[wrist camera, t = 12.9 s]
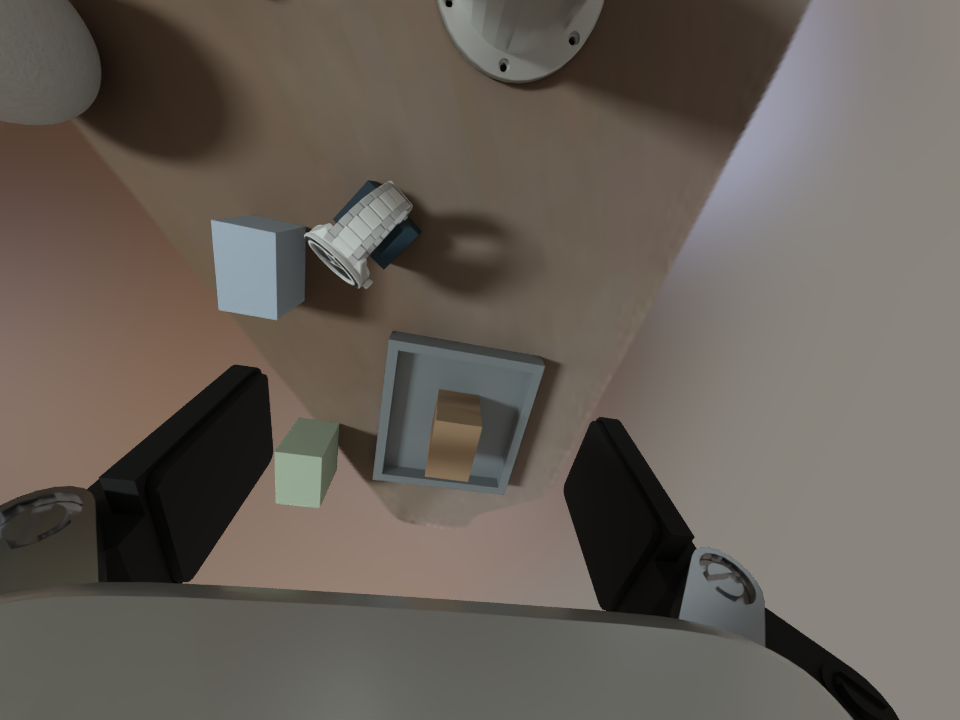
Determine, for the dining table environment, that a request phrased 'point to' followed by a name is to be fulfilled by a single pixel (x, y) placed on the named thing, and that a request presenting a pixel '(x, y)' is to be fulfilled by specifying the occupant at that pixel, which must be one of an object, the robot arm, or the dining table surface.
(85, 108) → the ball
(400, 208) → the watch
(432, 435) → the walnut brick
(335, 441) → the sage brick
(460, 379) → the tray
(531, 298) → the dining table surface
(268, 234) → the dusty blue brick
